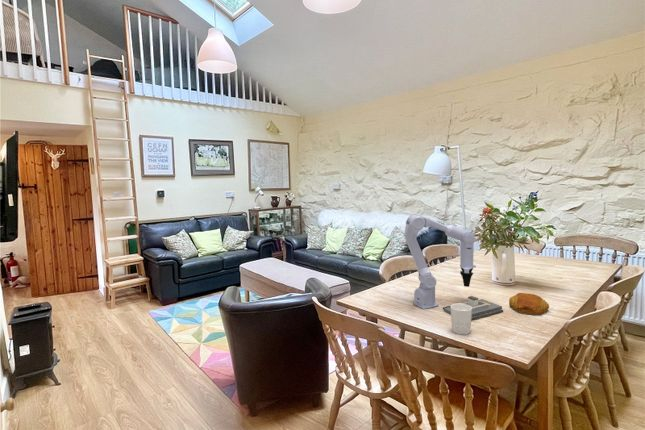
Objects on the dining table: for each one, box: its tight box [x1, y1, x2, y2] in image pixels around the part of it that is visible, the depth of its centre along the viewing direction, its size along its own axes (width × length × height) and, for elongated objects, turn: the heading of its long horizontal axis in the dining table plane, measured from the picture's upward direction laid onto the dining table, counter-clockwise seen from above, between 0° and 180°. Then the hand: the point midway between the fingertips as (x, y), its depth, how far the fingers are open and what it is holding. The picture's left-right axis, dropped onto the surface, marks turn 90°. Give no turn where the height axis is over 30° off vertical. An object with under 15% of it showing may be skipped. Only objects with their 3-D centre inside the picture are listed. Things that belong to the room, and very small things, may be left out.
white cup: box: [450, 302, 473, 336], centre depth 139 cm, size 8×8×10 cm
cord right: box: [471, 309, 504, 322], centre depth 153 cm, size 20×1×1 cm, turn 114°
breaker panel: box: [443, 298, 503, 318], centre depth 160 cm, size 24×11×3 cm, turn 114°
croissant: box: [508, 292, 550, 316], centre depth 158 cm, size 14×16×8 cm
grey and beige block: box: [467, 295, 479, 307], centre depth 160 cm, size 2×4×4 cm
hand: (466, 284), depth 168 cm, fingers open, 7 cm apart
